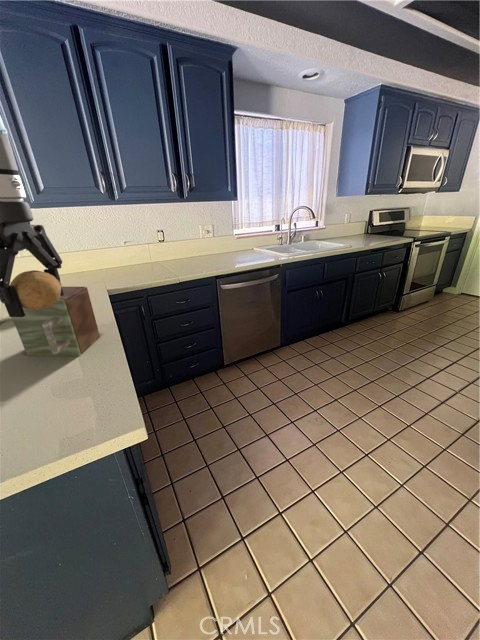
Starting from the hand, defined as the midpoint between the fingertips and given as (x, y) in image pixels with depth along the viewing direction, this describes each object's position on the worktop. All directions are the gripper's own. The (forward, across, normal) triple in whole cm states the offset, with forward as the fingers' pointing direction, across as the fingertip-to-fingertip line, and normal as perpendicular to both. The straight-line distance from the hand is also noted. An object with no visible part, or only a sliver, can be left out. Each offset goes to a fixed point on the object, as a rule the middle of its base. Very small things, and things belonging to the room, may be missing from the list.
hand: (39, 304), depth 60 cm
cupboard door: (+26, +15, +17) cm, 35 cm away
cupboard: (+26, +26, +17) cm, 40 cm away
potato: (+1, 0, 0) cm, 1 cm away
